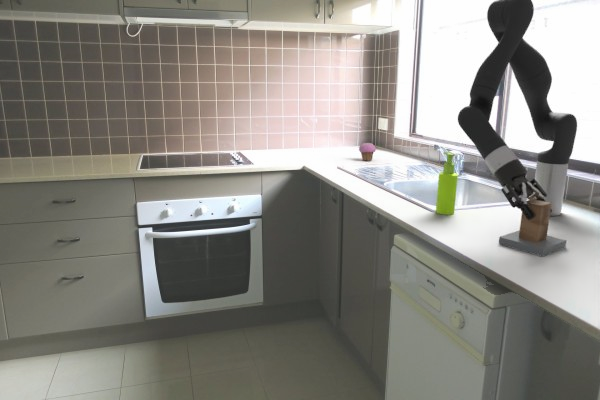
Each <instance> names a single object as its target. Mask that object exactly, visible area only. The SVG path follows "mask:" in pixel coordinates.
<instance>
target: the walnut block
mask: <svg viewBox="0 0 600 400" xmlns="http://www.w3.org/2000/svg"><path fill="white" fill-rule="evenodd" d="M526 201H527V204H528V205H529V206H530V207H531V209H532V210H533V212H534V213H535V215H536V216H535V217H534V218H533V219H531V220H528V219H527V218H526V216H525V215H524V214H523V212H522V211H521V218H520V226H519V230H520V232H519V238H521V239H525V240H529V241H533V242H536V243H538V242H540V241H543V240H545V239H546V238H547V236H548V231H549V223H550V218H551V217H550V210H551V203H549V202H544V201H539V200H534V199H532V200H529V199H527V200H526Z"/></svg>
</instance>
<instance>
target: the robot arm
mask: <svg viewBox="0 0 600 400" xmlns="http://www.w3.org/2000/svg"><path fill="white" fill-rule="evenodd" d="M487 9H488V10H487V13H486V19H487V22H488V26H489V28H490V31H491V33H492V34H493V37H495V39H496V41H497V45H496V46H495V47H494V49H493V50H492V51H491V53H490V54H488V55H487V56H486V58H485V59H484V60H483V62H482V63H481V64H480V66H479V67H478V70H477V72H476V74H475V76H474V80H473V82H472V85H471V88H470V92H469V97H470V99H469V100H470V101H469V105H468V106H464V107H463V108H461V110H460V111H459V113H458V115H457V123H458V125H459V126H460V128H461V129H462V130H463V132H464V133H465V135H466V136H467V137H468V138H469V139H470V141H471V142H472V144H474V146H475V148H476V150H477V151H478V153H479V154H480V155H481V157H482V159H484V161H485V163H486V165H487V167H488V169H489V171H490V172H491V173H492V174H493V176H494V178H495V179H496V181H497V182H498V183H499V184H500V186H501V187H502V188H501V189H500V190H501V192H502V193H503V194H504V197H505V198H506V201H507V202H509V204H510V205H511V207H512V208H517V209H519V210H520V211H521V213H522V212H523V214H524V215H525V216H526V218H527V219H528V220H531V219H533V218H534V217H535V216H536V215H535V213H534V212H533V210H532V209H531V207H530V206H529V205H528V204H527V201H528V200H532V199H534V200H539V201H544V202H549V203H551V210H550V216H551V217H552V216H553V217H554V216H556V217H557V216H560V215H561V214H562V207H563V201H564V196H565V188H566V182H567V174H568V169H569V162H570V158H571V156H572V154H573V151H574V144H575V140H576V135H577V131H578V121H577V118H576V116H575V115H574V114H572V113H568V112H567V113H565V112H554V111H552V109H551V108H550V105H549V103H548V95H549V92H550V89H551V86H552V81H553V77H552V73H551V71H550V67H549V66H548V63H547V61H546V59H545V58H544V56H543V55H542V53H541V52H539V51H538V50H537V49H535V48H534V47H533V45H531V44H530V43H528V41H526V40H525V39H524V35H525V34H526V32H527V30H528V28H529V27H530V25H531V22H532V19H533V17H534V11H535V6H534V3H533V1H532V0H494V1H493V2H491V3H490V4H489V6H488V8H487ZM508 65H510V67H511V70H512V72H513V75H514V78H515V80H516V82H517V85H518V87H519V89H520V92H521V93H522V95H523V98H524V100H525V103H526V105H527V107H528V111H529V113H530V116H531V120H532V123H533V128H534V130H535V132H536V135H537V137H539V138H540V139H541V140H544V141H549V142H553V143H552V147H551V148H550V149H548V150H544V151H540V152H538V154H537V160H536V168H535V176H534V178H532V179H530V180H529V179H527V177H526V175H528V170H527V169H526V167H525V166H524V165H523V163H522V162H521V161H520V159H519V158H518V156H517V155H516V154H515V153H514V151H513V150H512V149H511V148H510V147H509V146H508V145H507V143H506V141H504V139H503V138H502V136H500V134H499V133H498V132H497V131H496V130H495V129H494V128H493V126H492V125H491V123H490V117H491V115H492V109H493V104H494V100H495V97H496V95H497V92H498V90H499V86H500V84H501V82H502V79H503V76H504V74H505V71H506V68H507V66H508Z"/></svg>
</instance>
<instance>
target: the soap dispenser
mask: <svg viewBox="0 0 600 400" xmlns="http://www.w3.org/2000/svg"><path fill="white" fill-rule="evenodd" d="M443 155H446V156H447V157H446V162H443V171H442V172H439V173H438V181H437V184H438V185H437V194H436V204H435V205H436V207H435V212H436V213H437V214H439V215H449V216H450V215H454V214H455V207H456V197H457V186H458V177H459V174H457V173H456V172H455V167H456V166H455V163H454V162H453V157H455V153H453V152H451V151H449V152H443Z"/></svg>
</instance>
